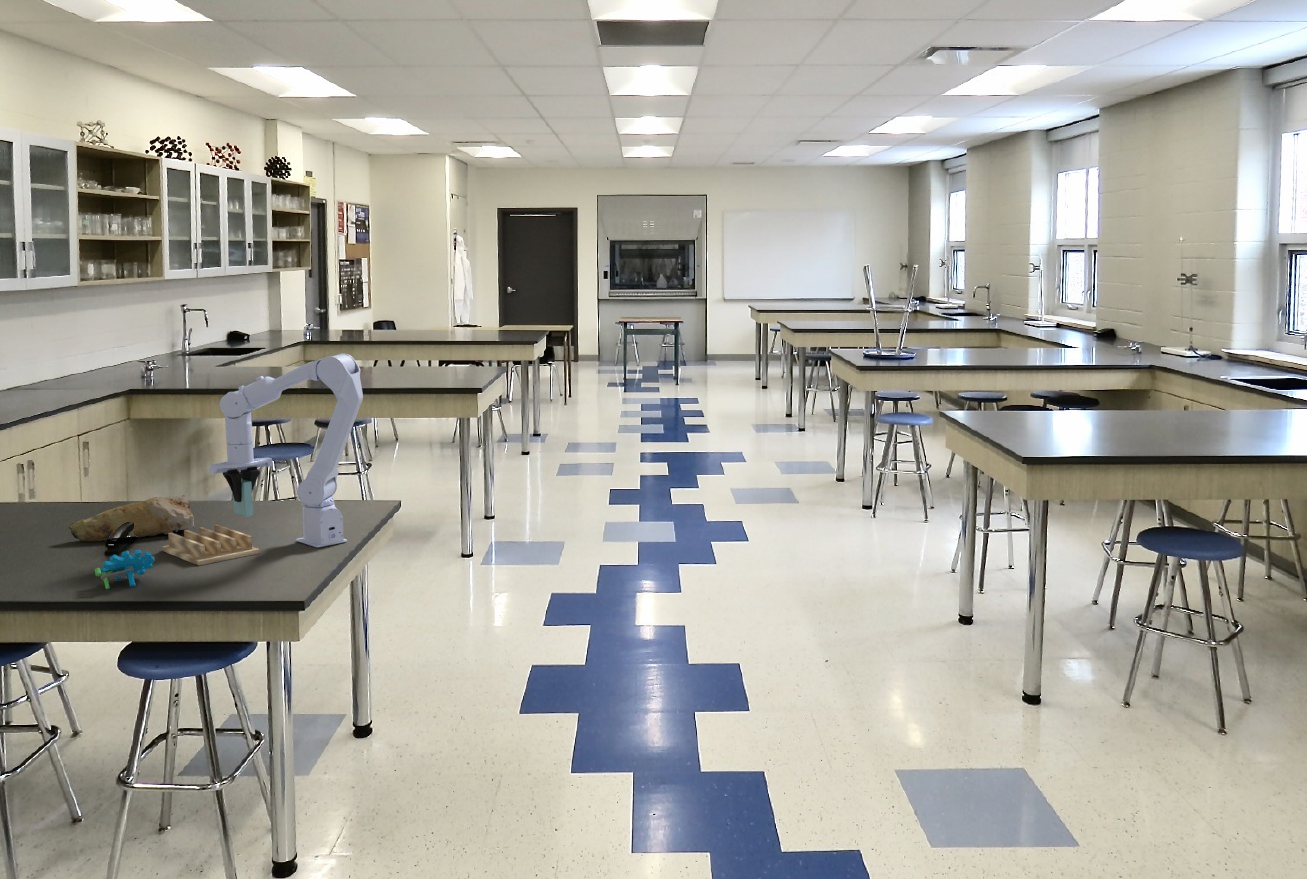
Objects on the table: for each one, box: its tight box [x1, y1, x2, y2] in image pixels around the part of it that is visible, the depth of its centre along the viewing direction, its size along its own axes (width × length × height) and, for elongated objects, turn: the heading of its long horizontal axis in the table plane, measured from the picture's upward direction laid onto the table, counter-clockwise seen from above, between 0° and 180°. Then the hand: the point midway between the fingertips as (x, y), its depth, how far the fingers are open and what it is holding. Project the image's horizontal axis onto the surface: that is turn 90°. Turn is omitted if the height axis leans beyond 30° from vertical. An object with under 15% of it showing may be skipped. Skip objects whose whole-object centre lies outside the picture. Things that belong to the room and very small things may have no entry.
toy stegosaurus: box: [94, 549, 156, 590], centre depth 226 cm, size 11×6×10 cm
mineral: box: [68, 494, 196, 542], centre depth 264 cm, size 26×9×10 cm
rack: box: [161, 524, 261, 566], centre depth 251 cm, size 18×14×4 cm
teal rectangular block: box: [232, 480, 254, 518], centre depth 261 cm, size 6×2×8 cm, turn 47°
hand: (242, 500), depth 261 cm, fingers closed on teal rectangular block, 2 cm apart
